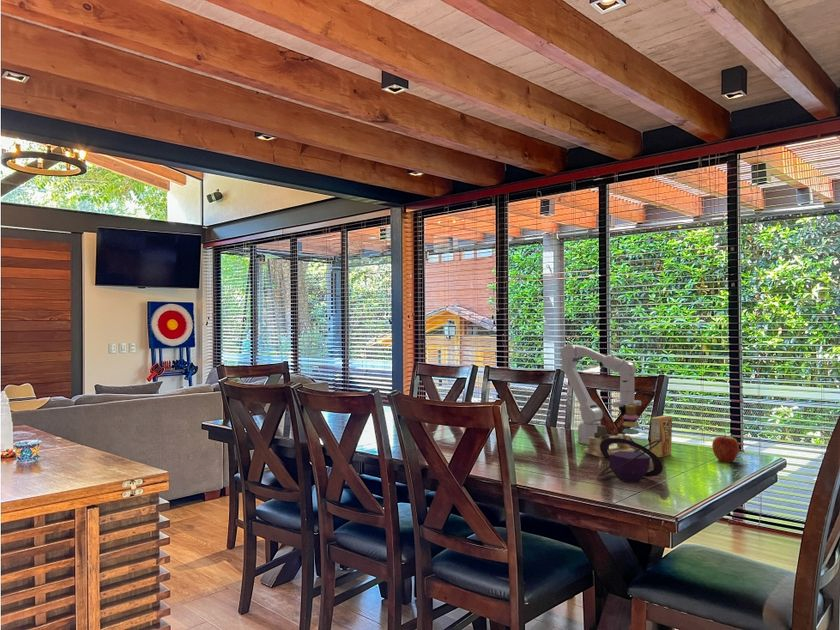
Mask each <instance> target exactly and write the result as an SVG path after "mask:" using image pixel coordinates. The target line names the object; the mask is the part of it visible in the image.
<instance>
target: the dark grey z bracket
mask: <svg viewBox="0 0 840 630" xmlns="http://www.w3.org/2000/svg"><path fill="white" fill-rule="evenodd" d="M609 436H610V434H607V426H606V425H602V424H601V425H600V426H597V432H596V433H594V438H600V437H604V438H603V440H605V439H609ZM609 446H610V445H609ZM609 446H608V447H607V450H609Z"/></svg>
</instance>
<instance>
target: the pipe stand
mask: <svg viewBox="0 0 840 630" xmlns="http://www.w3.org/2000/svg"><path fill="white" fill-rule="evenodd" d="M603 438H604V437H600V438H594V437H588V445H587V448H583V453H585V454H588V455H593V456H596V457H599V458H605V457H604V456H603V454H602V452H601V450H600V444H601V442H602V441H603ZM609 438H620V439H626V440H629V441H631V436H630V435H629V434H625V433H618V434H617V435H611V436H610V435H609ZM623 447H624V448H623ZM618 451H626V452H634V451H636V450H635V448H631V445H628V444H624V443H613V444H610V445H609V450H607V452H608V454H609V456H610V454H613V453H615V452H618Z"/></svg>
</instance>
